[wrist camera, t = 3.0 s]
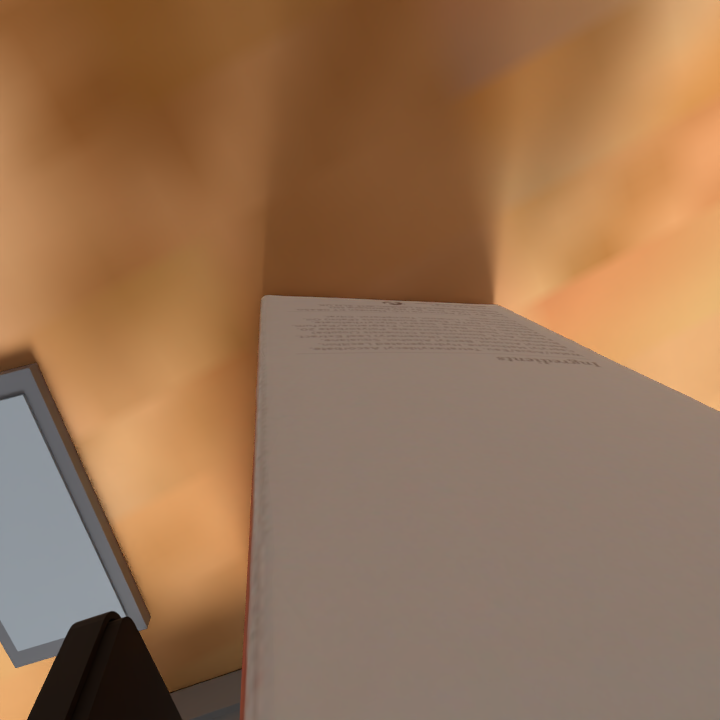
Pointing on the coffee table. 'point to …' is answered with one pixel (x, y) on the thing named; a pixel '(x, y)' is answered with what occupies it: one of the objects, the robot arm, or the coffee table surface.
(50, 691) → the robot arm
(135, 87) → the coffee table surface
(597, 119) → the coffee table surface
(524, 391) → the small box
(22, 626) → the phone
